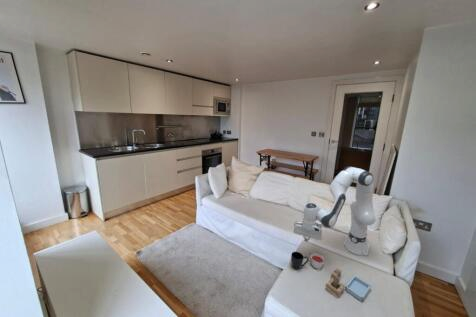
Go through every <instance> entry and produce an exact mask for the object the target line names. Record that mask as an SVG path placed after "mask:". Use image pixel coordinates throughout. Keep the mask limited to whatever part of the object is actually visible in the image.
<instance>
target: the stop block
mask: <svg viewBox="0 0 476 317" xmlns="http://www.w3.org/2000/svg"><path fill="white" fill-rule="evenodd" d="M335 275H337V276H339V279H340V278H341V275H342V269H340V268H338V267H336V268H335V269H334V270H333V271H331V274H330V279H331V278H334V276H335Z"/></svg>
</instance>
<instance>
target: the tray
mask: <svg viewBox="0 0 476 317" xmlns="http://www.w3.org/2000/svg"><path fill="white" fill-rule="evenodd" d="M344 286H345V288H344V292H345V293H348V294H350V295H351V296H353V298H355V299H356V300H358V301H359V302H361V303H363V301H364V300H365V298H366V297H367V296H368V294H369V292H370V291H371V287H372V285H371V284H369V283H367V282H366V281H364V280H363V279H361V278H359V277H358V276H356V274H355V275H353V277H351V279H350V280H349V281H348V283H347V284H346V285H344Z"/></svg>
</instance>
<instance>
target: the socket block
mask: <svg viewBox="0 0 476 317" xmlns="http://www.w3.org/2000/svg"><path fill="white" fill-rule="evenodd" d="M333 280H334V278H331V277H330V280H328V281H327V283H325V288H324V289H325V290H326V291H327V292H329V293H330V294H331V295H333V296H334V297H335V298H337V299H339V297H340V296H341V295H342V294H343V293H344V292H345V286H346V285H344V284H343V283H341V282H340V281H339V284H338V289H336V288H335V287H333Z"/></svg>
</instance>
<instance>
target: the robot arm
mask: <svg viewBox="0 0 476 317" xmlns="http://www.w3.org/2000/svg"><path fill="white" fill-rule="evenodd" d="M352 183H355V184H356V188H355V198H354V199H355V200H354V201H352V202H351V203H350V205H349V208H350V216H351V217H350V218H351V219H350V220H351V222H350V223H351V224H350V229H349V232H348V235H346V236H345V240H344V241H343V242H342V244H343V246H344V247H345V249H346V250H347V251H348V252H350V253H352V254H353V255H358V256H368V255H369V252H370V248H371V245H370V244H369V241H368V239H367V236H368V234H367V232H368V226H372V225H374V224H375V223H376V221H377V219H376V216H375V212H374V211H375V210H374V205H373V197H374V186H375V184H374V176H373V173H371V172H370V171H369V170H365V169H362V168H358V167H354V166H350V165H349V166H346V167H344V169H342V170H341V171H340V172H338V174H337V175H336V176H334V179H332V181H331V183H330V185H329V191H330V193H331V195H332V197H333V199H334V203H333V205H332V207H331V208H330V211H328V210H327V209H325V207H323V206H320V205H317V204H316V203H311V202H310V203H307V204H306V205H305V207H304V210H303V218H302V222H299V221H295V222H293V231H292V232H293V233H294V234H296V235H300V236H303V239H304V240H303V241H304V242H309V240H311V239H314V240H317V241H321V240H322V237H323V231H322V226H324V227H325V228H327V229H329V228H333V227H335V225H336V223H337V220H338V217H339V215H340V213H341V211H342V209H343V206H345V203H346V198H347V196H346V194H347V190H348V189H349V187H350V186H351V185H352ZM317 221H318V222H319V223H321V224H319V223H317Z"/></svg>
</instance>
